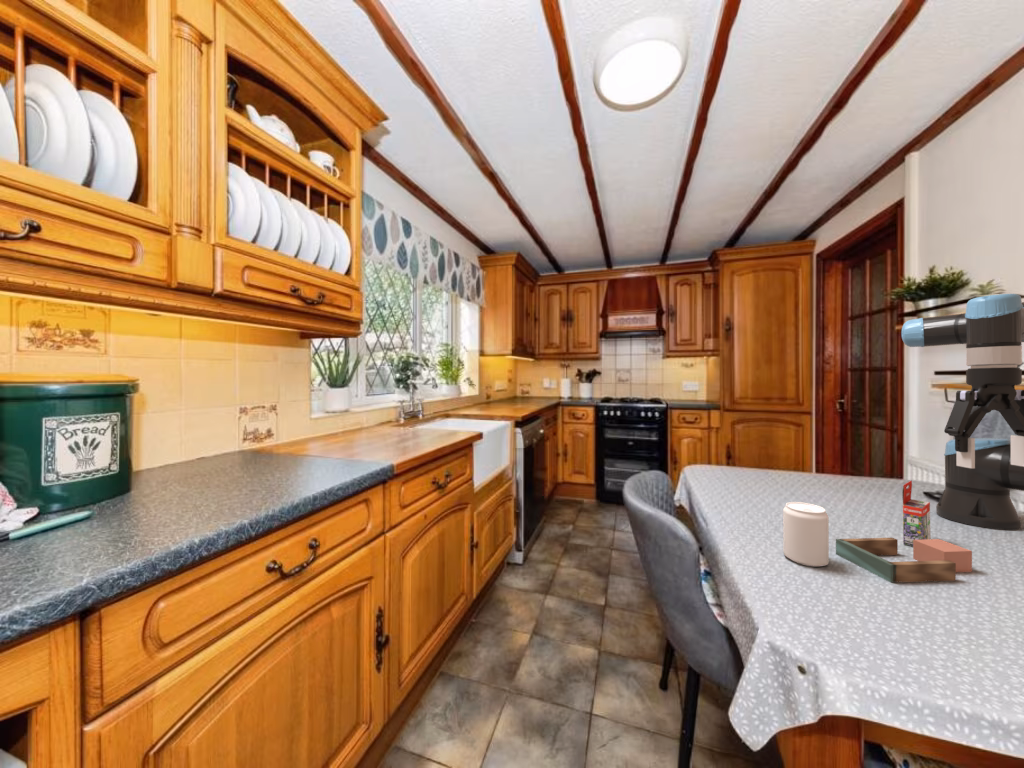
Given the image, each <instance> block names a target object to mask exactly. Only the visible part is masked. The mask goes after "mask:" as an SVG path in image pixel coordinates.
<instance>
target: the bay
mask: <svg viewBox="0 0 1024 768" xmlns="http://www.w3.org/2000/svg"><path fill="white" fill-rule="evenodd" d="M898 545H899V544H898V539H896V538H894V537H868V538H867V537H866V538H865V537H864V538H863V537H861V538H835V555H836V556H839V557H840V558H843V559H845V560H846V561H848V562H850V563H853V564H854V565H856V566H858V567H860V568H862V569H864V570H866V571H868V572H870V573H871V574H874V575H875V576H877V577H879V578H882V579H883V580H884V581H887V582H889V583H911V582H913V583H915V582H919V583H920V582H943V581H944V582H949V581H950V582H951V581H953V582H954V581H956V580H957V577H956V574H957V572H956V563H954V562H952V561H949V560H942V561H917V560H914V561H913V560H912V561H890V560H887V559H885V558H883V557H880V556H898V554H899V553H898Z"/></svg>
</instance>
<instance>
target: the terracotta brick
mask: <svg viewBox="0 0 1024 768" xmlns="http://www.w3.org/2000/svg"><path fill="white" fill-rule="evenodd" d="M912 548H913V551H912V552H913V553H912V554H913V558H912V559H913V560H914V561H942V560H949V561H952V562H954V563H956V573H965V572H966V573H971V572H973V551H972V550H971V549H968V548H964V547H962V546H959V545H958V544H957V545H956V544H954V543H950V542H949V541H946V540H942V539H940V538H933V539H924V540H913V547H912Z"/></svg>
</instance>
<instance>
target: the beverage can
mask: <svg viewBox="0 0 1024 768" xmlns="http://www.w3.org/2000/svg"><path fill="white" fill-rule="evenodd" d="M782 517H783V518H782V521H783V523H782V528H783V532H782V535H783V537H782V541H783V549H782V550H783V555H784V556H785V557H787V558H788V559H790V560H791V561H792V562H795V563H797V564H799V565H802V566H808V567H814V568H815V567H818V568H819V567H823V566H827V565H828V564H829V563H830V562H829V561H830V560H829V559H830V555H829V552H830V551H829V550H830V548H829V547H830V545H829V543H830V541H829V540H830V539H829V537H830V536H829V532H830V531H829V529H830V528H829V521H830V520H829V515H828V514H827V512H826V509H825V507H822V506H820V505H816V504H812V503H809V502H808V503H807V502H802V501H800V502H798V501H790V502H786V503H785V506H784V507H783V509H782Z"/></svg>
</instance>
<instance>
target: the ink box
mask: <svg viewBox="0 0 1024 768" xmlns="http://www.w3.org/2000/svg"><path fill="white" fill-rule="evenodd" d="M912 487H913V482H912V480H909V481H908V482H906V483H905V484H903V485H902V492H901V494H902V500H901V501H902V543H903V545H906V546H910V547H912V548H913V540H924V539H931V538H932V535H931V502H929V501H925V500H923V501H922V500H919V499H912Z"/></svg>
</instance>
